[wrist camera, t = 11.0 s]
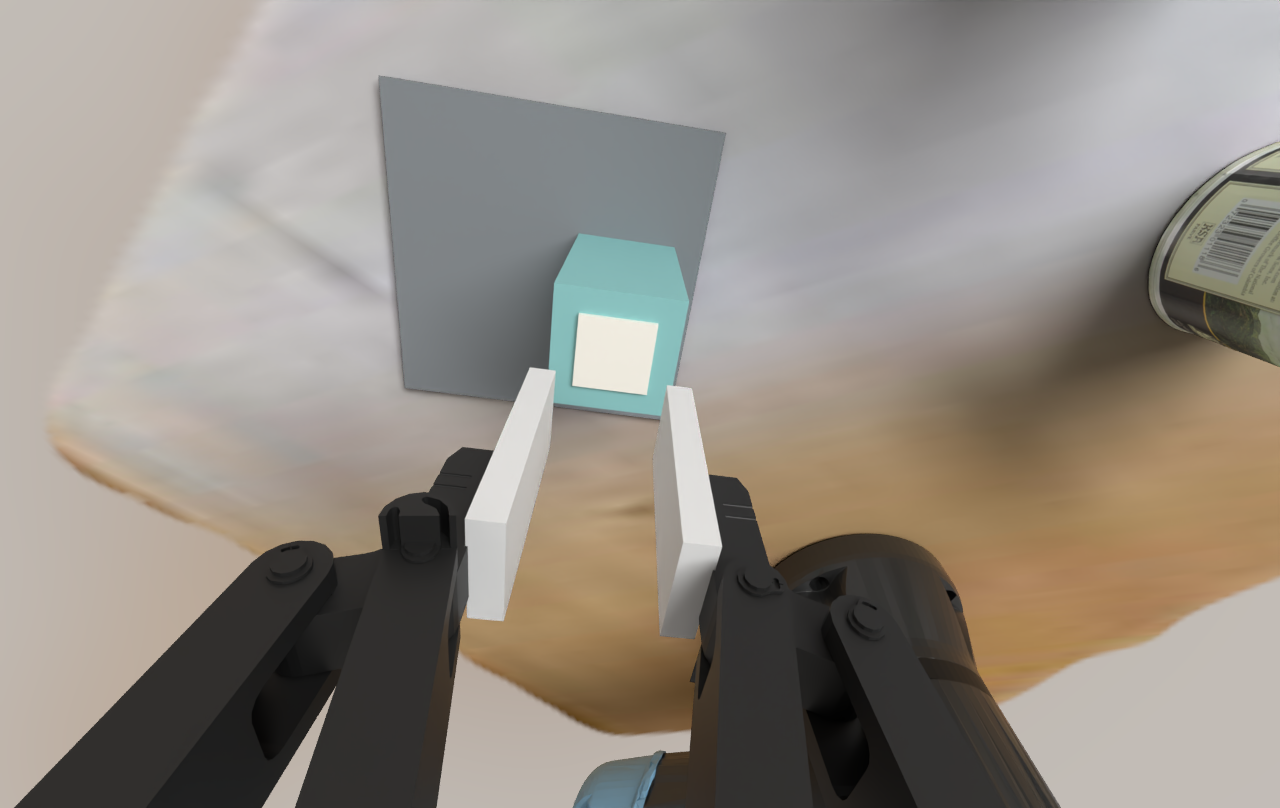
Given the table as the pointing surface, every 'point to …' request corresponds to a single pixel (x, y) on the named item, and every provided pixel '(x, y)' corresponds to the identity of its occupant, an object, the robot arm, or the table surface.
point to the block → (617, 324)
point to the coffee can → (1226, 259)
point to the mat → (521, 221)
